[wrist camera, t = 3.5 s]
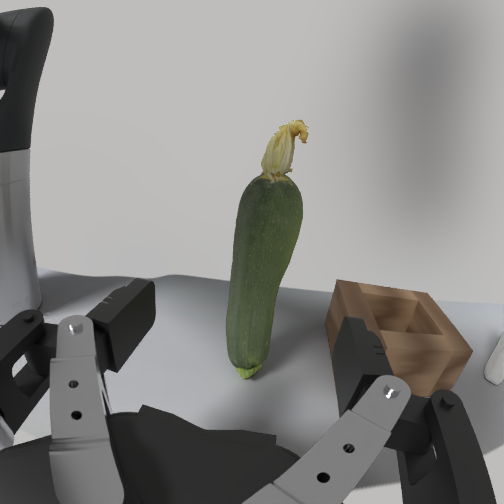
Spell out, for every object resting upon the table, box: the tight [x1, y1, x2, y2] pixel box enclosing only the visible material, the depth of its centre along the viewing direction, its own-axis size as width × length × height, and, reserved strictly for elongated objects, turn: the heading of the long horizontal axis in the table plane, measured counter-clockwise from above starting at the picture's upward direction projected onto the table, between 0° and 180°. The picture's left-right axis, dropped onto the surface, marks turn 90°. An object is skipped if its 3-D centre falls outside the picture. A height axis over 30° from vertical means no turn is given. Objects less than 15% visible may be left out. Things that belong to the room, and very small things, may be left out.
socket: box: [325, 280, 473, 397], centre depth 26 cm, size 12×12×6 cm
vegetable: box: [226, 120, 308, 379], centre depth 20 cm, size 4×4×20 cm
